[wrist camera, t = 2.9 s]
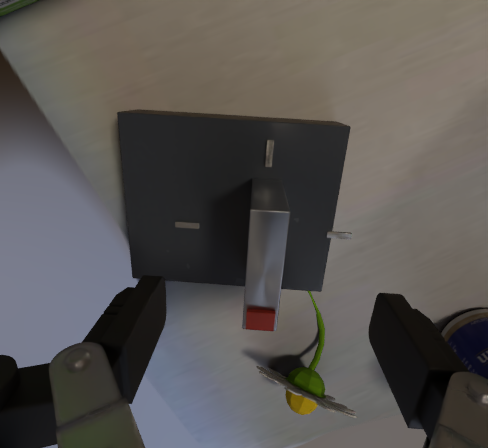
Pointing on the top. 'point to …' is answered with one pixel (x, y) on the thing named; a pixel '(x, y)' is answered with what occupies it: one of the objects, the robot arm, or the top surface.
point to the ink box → (13, 5)
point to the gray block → (265, 254)
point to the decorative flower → (307, 382)
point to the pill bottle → (470, 340)
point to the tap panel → (226, 192)
